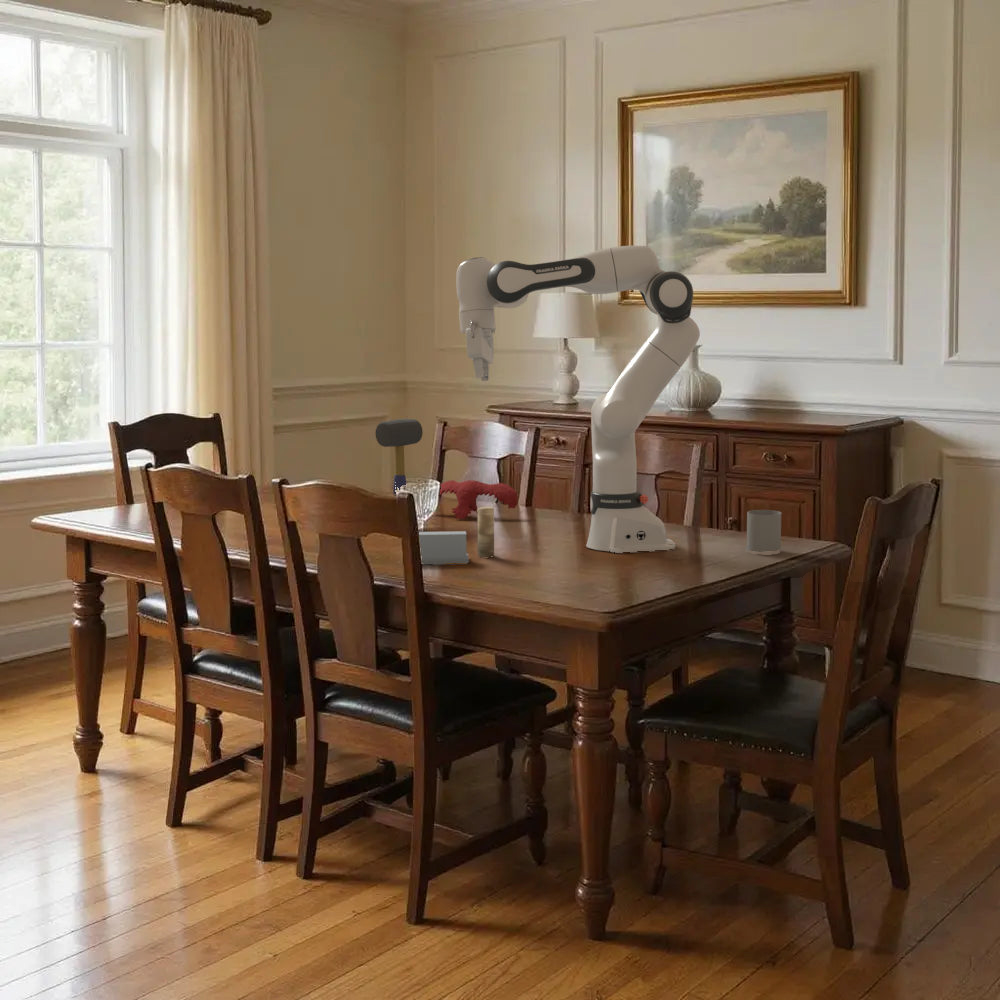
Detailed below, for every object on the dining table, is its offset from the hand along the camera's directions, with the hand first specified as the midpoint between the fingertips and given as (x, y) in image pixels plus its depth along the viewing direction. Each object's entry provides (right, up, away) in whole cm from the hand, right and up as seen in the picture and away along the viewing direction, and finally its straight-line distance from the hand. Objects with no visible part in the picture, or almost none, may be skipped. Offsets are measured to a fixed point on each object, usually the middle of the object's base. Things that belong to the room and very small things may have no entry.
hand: (482, 379), depth 346 cm
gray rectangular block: (-11, -45, -9) cm, 47 cm away
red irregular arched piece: (-5, -35, +57) cm, 67 cm away
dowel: (+1, -44, -3) cm, 44 cm away
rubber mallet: (-23, -38, +41) cm, 60 cm away
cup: (+70, -43, 0) cm, 82 cm away
